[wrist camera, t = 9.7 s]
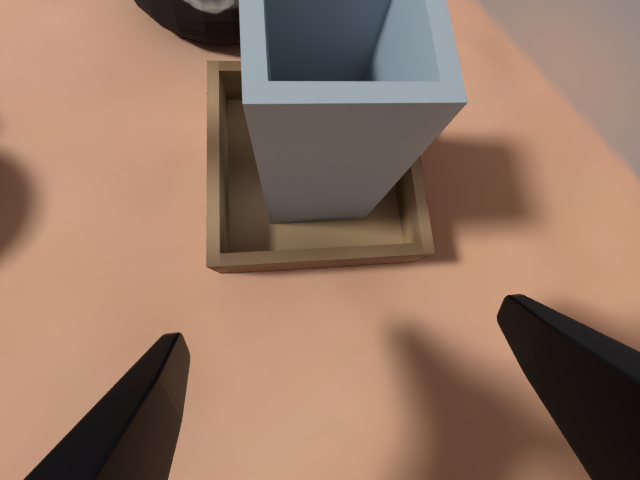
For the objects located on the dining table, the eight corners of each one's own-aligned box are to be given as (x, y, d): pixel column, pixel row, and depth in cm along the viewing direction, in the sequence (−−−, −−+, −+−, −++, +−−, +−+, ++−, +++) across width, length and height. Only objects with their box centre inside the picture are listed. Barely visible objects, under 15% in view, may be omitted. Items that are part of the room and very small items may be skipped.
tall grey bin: (364, 219, 18) (467, 102, 7) (270, 224, 17) (242, 104, 7) (353, 127, 19) (429, -81, 9) (265, 129, 18) (235, -94, 8)
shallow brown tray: (411, 261, 18) (435, 253, 15) (220, 273, 17) (206, 266, 14) (389, 97, 20) (405, 64, 17) (219, 97, 19) (207, 60, 16)
